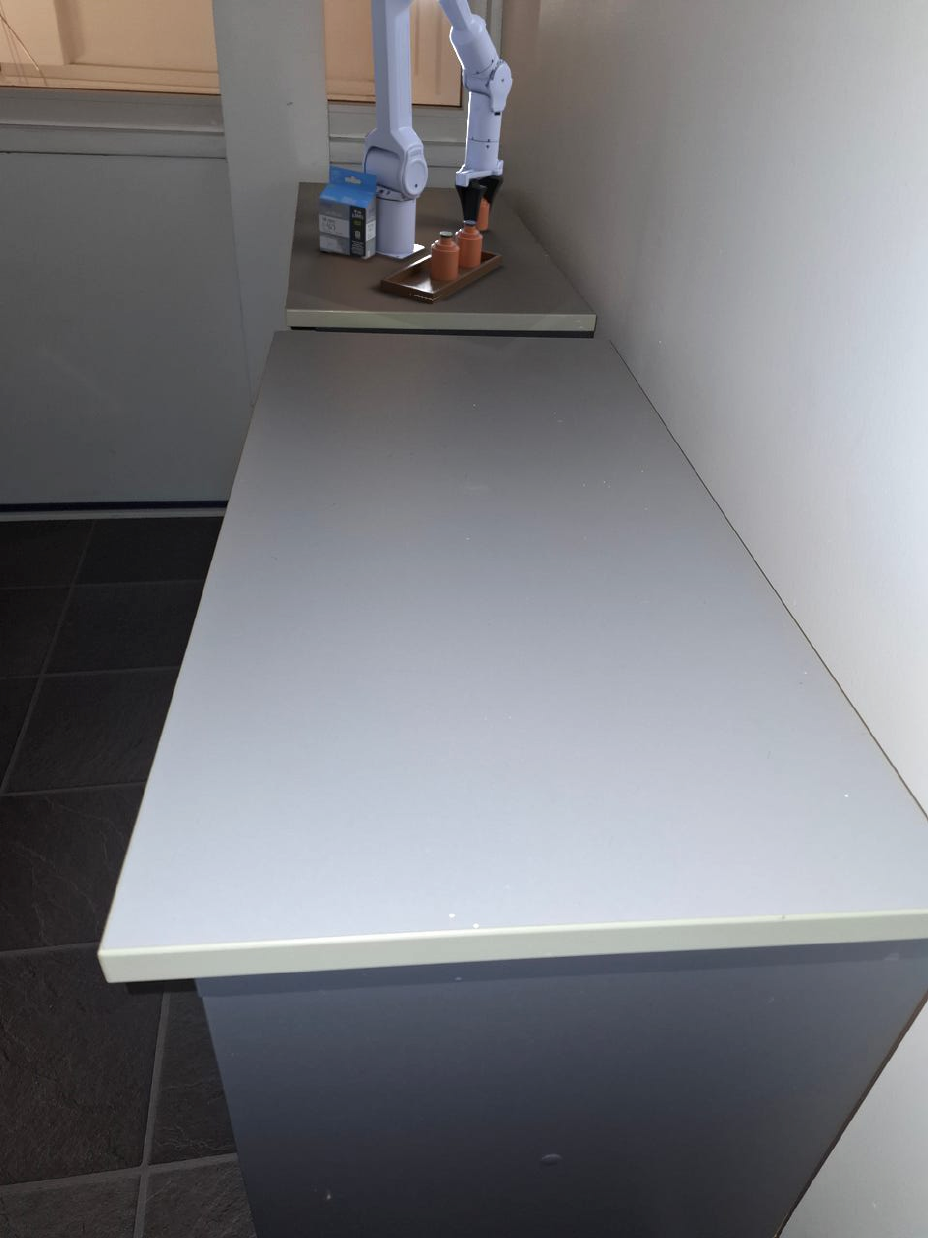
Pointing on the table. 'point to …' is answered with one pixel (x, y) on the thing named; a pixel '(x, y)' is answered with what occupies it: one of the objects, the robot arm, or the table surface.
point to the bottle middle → (444, 258)
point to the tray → (420, 282)
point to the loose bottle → (483, 216)
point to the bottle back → (469, 245)
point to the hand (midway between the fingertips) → (476, 221)
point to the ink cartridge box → (348, 214)
